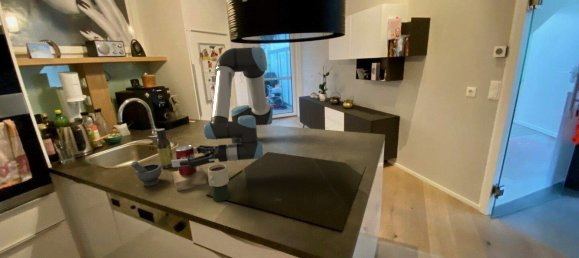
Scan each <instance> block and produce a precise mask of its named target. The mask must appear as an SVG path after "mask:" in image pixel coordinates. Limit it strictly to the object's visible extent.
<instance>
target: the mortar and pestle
mask: <svg viewBox="0 0 579 258" xmlns="http://www.w3.org/2000/svg"><path fill="white" fill-rule="evenodd" d="M130 166H131V168H134V169H135V175H136V176H137V178H138V180H140V181H141V182H143V183H142V184H143V185H144V186H145V187H149V186H154V185H156V184H158V183H159V182H160V178H159V177H160V176H161V174H162V168H161V164H159V163H152V164H145V165H141V164H140V163H139V161H138V160H135V161H133V162H132V163H131V164H130Z"/></svg>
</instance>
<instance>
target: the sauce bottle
mask: <svg viewBox="0 0 579 258" xmlns="http://www.w3.org/2000/svg"><path fill="white" fill-rule="evenodd" d="M155 133H156V136H157V141H156V149H157V154H158V159H159V163H160V164H159V165H160V166H161V169H169V168H173V167H172V162H171V161H172V160H174V155H173V150H172V146H171V142H170V140H169V139H168V138H167V134H166V129H165V128H157V129H156V130H155Z"/></svg>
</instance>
